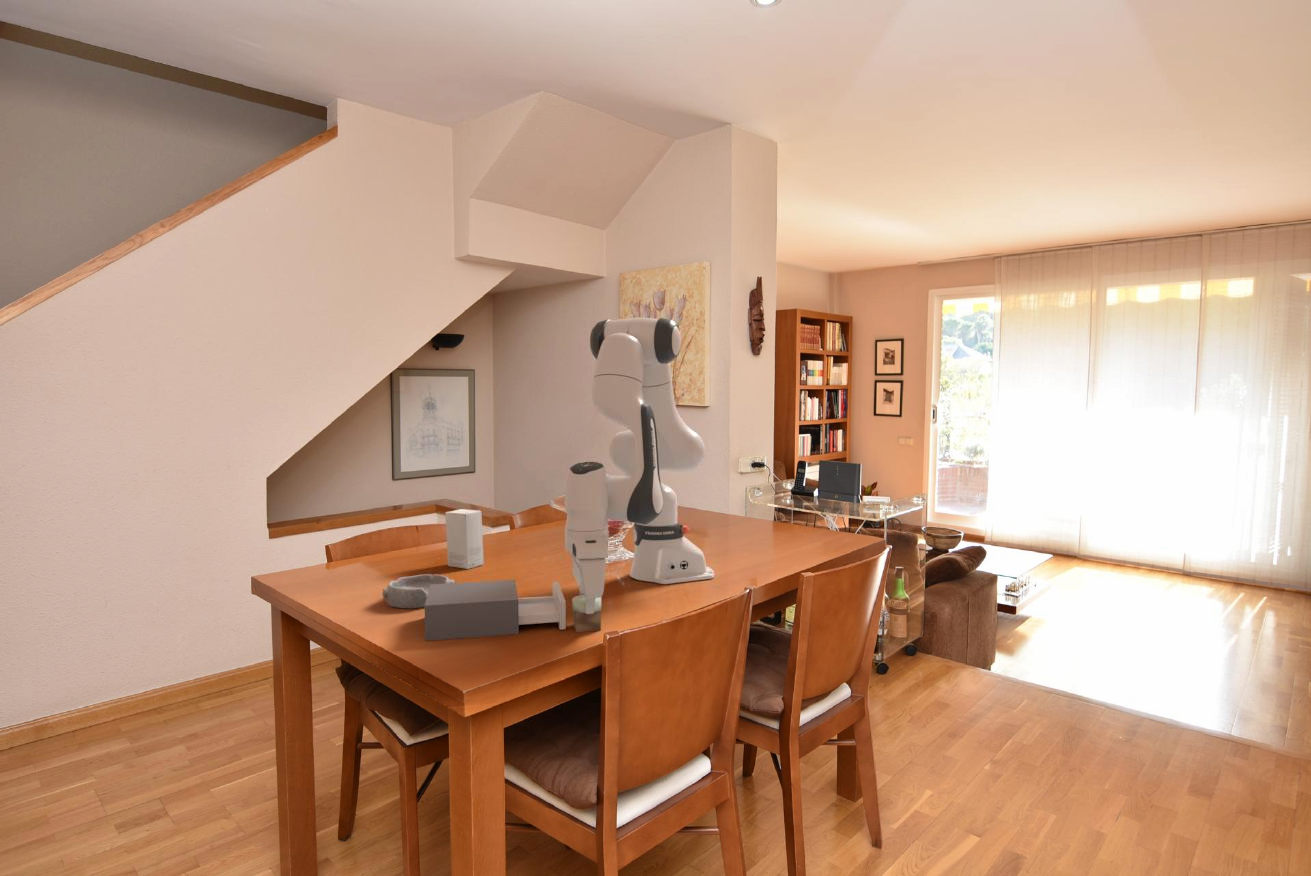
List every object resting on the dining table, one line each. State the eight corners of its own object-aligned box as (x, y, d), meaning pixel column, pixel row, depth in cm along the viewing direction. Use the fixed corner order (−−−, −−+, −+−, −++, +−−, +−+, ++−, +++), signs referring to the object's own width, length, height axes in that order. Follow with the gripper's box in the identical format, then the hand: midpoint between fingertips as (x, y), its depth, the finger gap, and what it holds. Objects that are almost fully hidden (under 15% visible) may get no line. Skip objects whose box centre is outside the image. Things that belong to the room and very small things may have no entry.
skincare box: (484, 565, 202) (483, 510, 201) (466, 570, 197) (465, 513, 196) (463, 561, 207) (462, 508, 206) (445, 566, 201) (444, 511, 200)
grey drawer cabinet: (515, 610, 160) (514, 579, 159) (518, 633, 144) (518, 599, 144) (431, 616, 156) (430, 584, 155) (425, 640, 140) (424, 605, 140)
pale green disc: (598, 603, 152) (599, 593, 152) (603, 611, 146) (603, 601, 146) (570, 605, 151) (570, 595, 150) (574, 613, 145) (574, 603, 145)
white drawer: (559, 607, 162) (559, 581, 162) (567, 628, 147) (567, 601, 146) (476, 612, 158) (475, 586, 157) (475, 635, 143) (474, 607, 142)
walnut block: (597, 622, 152) (597, 604, 151) (600, 630, 147) (600, 610, 146) (573, 624, 150) (573, 605, 150) (576, 631, 146) (576, 612, 145)
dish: (459, 595, 172) (459, 575, 172) (429, 612, 159) (428, 590, 159) (406, 591, 176) (405, 571, 175) (371, 608, 162) (371, 586, 162)
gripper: (565, 532, 157) (566, 594, 158) (577, 552, 137) (577, 623, 138) (594, 531, 158) (594, 593, 159) (610, 551, 138) (610, 621, 139)
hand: (586, 607), depth 148 cm, fingers closed on pale green disc, 6 cm apart
